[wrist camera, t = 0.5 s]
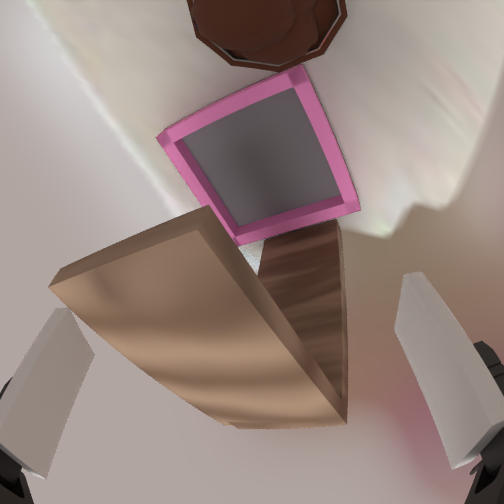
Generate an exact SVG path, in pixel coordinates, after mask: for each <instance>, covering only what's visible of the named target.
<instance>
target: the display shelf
mask: <svg viewBox="0 0 504 504" xmlns="http://www.w3.org/2000/svg"><path fill="white" fill-rule="evenodd" d="M48 288H49V289H50V290H51V291H52V292H53V293H54V294H55V295H56V296H57V297H58V298H59V299H60V300H61V301H62V302H63V303H64V304H65V305H66V306H67V307H68V308H69V309H71V310H72V311H73V312H74V313H75V314H76V315H77V316H78V317H79V318H80V319H81V320H82V321H84V322H85V323H86V324H87V325H88V326H89V327H90V328H91V329H93V330H94V331H95V332H96V333H97V334H98V335H99V336H101V337H102V338H103V339H104V340H105V341H107V342H108V343H109V344H110V345H111V346H112V347H114V348H115V349H116V350H117V351H118V352H120V353H121V354H122V355H123V356H125V357H126V358H127V359H128V360H130V361H131V362H132V363H134V364H135V365H136V366H138V367H139V368H140V369H141V370H143V371H144V372H145V373H147V374H148V375H149V376H151V377H152V378H153V379H155V380H156V381H158V382H159V383H160V384H162V385H163V386H164V387H166V388H167V389H169V390H170V391H172V392H173V393H174V394H176V395H178V396H179V397H181V398H182V399H183V400H185V401H186V402H188V403H189V404H191V405H192V406H194V407H195V408H197V409H198V410H200V411H202V412H203V413H205V414H206V415H208V416H210V417H211V418H213V419H214V420H216V421H218V422H219V423H221V424H223V425H233V426H235V427H236V428H238V429H291V428H311V427H325V426H337V425H345V424H347V408H348V336H347V308H346V289H345V272H344V259H343V246H342V235H341V230H340V227H339V225H338V222H337V220H336V219H335V220H332V221H329V222H325V223H322V224H318V225H315V226H311V227H308V228H304V229H301V230H298V231H294V232H291V233H287V234H284V235H280V236H277V237H274V238H270V239H267V240H265V241H264V246H263V251H262V256H261V261H260V266H259V271H258V276H257V275H256V274H255V272H254V271H253V269H252V268H251V266H250V265H249V263H248V262H247V260H246V259H245V257H244V256H243V254H242V253H241V252H240V250H239V249H238V247H237V246H236V244H235V243H234V241H233V240H232V238H231V237H230V235H229V234H228V232H227V231H226V229H225V228H224V226H223V225H222V223H221V222H220V220H219V219H218V217H217V216H216V214H215V213H214V211H213V210H212V208H211V207H210V205H206V206H204V207H201V208H199V209H196V210H194V211H191V212H189V213H186V214H184V215H181V216H179V217H176V218H174V219H171V220H169V221H167V222H164V223H162V224H159V225H157V226H155V227H152V228H150V229H147V230H145V231H143V232H140V233H138V234H136V235H133V236H131V237H129V238H127V239H125V240H122V241H120V242H117V243H115V244H113V245H111V246H108V247H106V248H104V249H102V250H100V251H97V252H95V253H93V254H91V255H89V256H86V257H84V258H82V259H80V260H78V261H76V262H74V263H71V264H69V265H67V266H65V267H63V268H61V269H60V270H59V272H58V273H57V275H56V276H55V277H54V279H53V280H52V282H51V284H50V285H49V287H48Z"/></svg>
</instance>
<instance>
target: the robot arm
mask: <svg viewBox="0 0 504 504" xmlns="http://www.w3.org/2000/svg"><path fill="white" fill-rule="evenodd" d="M394 331H395V333H396V335H397V337H398V339H399V341H400V343H401V345H402V347H403V350H404V352H405V354H406V356H407V358H408V361H409V363H410V365H411V367H412V369H413V372H414V374H415V376H416V378H417V380H418V383H419V385H420V388H421V390H422V392H423V395H424V397H425V400H426V402H427V404H428V407H429V409H430V412H431V414H432V417H433V419H434V422H435V424H436V427H437V430H438V432H439V435H440V438H441V440H442V443H443V445H444V448H445V451H446V454H447V457H448V460H449V463H450V465H451V468H452V470H453V469H455V468H457V467H460V466H462V465H465V464H467V463H469V462H471V461H473V460H474V459H475V458H476V457H477V456H478V455H479V453H480V454H481V457H482V460H481V461H480V462H479V463H478V464H477V465H476V466H475V467H474V468H473V469H472V471H471V472H470V475H472V474H474V473H475V472H476V471H477V473H476V476H475V479H474V481H473V484H472V486H471V489H470V491H469V494H468V497H467V499H466V501H465V503H464V504H504V366H503V364H501V361H500V359H499V358H498V356H497V355H496V353H495V352H494V350H493V349H492V348H490V347H489V346H488V345H487V344H485V343H484V342H483V341H480V342H477V343H474V344H472V342H471V341H470V339H469V338H468V336H467V335H466V333H465V332H464V330H463V329H462V327H461V326H460V324H459V323H458V321H457V320H456V318H455V317H454V315H453V314H452V312H451V311H450V310H449V308H448V307H447V305H446V304H445V303H444V301H443V300H442V298H441V297H440V296H439V294H438V293H437V291H436V290H435V289H434V287H433V286H432V285H431V283H430V282H429V281H428V279H427V278H426V277H425V275H424V274H423V273H422V272H415V273H409V274H404V277H403V283H402V289H401V295H400V301H399V306H398V312H397V317H396V322H395V327H394ZM94 355H95V354H94V352H93V351H92V349H91V347H90V346H89V344H88V342H87V340H86V339H85V337H84V335H83V333H82V331H81V330H80V328H79V326H78V324H77V322H76V320H75V318H74V317H73V315H72V313H71V311H70V309H69V308H56V309H55V310H54V312H53V313H52V315H51V316H50V318H49V319H48V321H47V322H46V324H45V325H44V327H43V329H42V330H41V331H40V333H39V334H38V336H37V338H36V339H35V341H34V342H33V344H32V346H31V347H30V349H29V350H28V352H27V354H26V355H25V357H24V359H23V361H22V362H21V364H20V366H19V367H18V369H17V370H16V372H15V374H14V376H13V377H12V378H11V379H10V380H9V381H8V382H7V383H6V384H5V385H4V387H3V389H2V391H1V393H0V504H34V502H33V499H32V497H31V493H30V490H29V487H28V484H27V481H26V478H25V475H24V474H23V473H22V472H21V469H22V467H23V468H24V469H26V470H27V471H28V472H30V473H31V474H32V475H35V476H38V477H41V478H43V479H46V478H47V475H48V472H49V469H50V466H51V463H52V460H53V457H54V454H55V452H56V449H57V446H58V443H59V440H60V438H61V435H62V432H63V430H64V427H65V424H66V422H67V419H68V417H69V414H70V411H71V409H72V406H73V404H74V401H75V399H76V397H77V394H78V392H79V389H80V387H81V385H82V382H83V380H84V378H85V375H86V373H87V371H88V369H89V366H90V364H91V362H92V360H93V358H94Z"/></svg>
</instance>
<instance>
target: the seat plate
mask: <svg viewBox="0 0 504 504" xmlns="http://www.w3.org/2000/svg"><path fill="white" fill-rule="evenodd" d="M156 139H157V140H158V142H159V143H160V145H161V146H162V148H163V149H164V151H165V152H166V154H167V155H168V157H169V158H170V160H171V161H172V163H173V164H174V166H175V167H176V168H177V170H178V171H179V173H180V174H181V176H182V177H183V179H184V180H185V182H186V183H187V185H188V186H189V188H190V189H191V191H192V192H193V194H194V195H195V197H196V198H197V199H198V201H199V202H200V204H201V205H202V207H204V206H206V205H210V207H211V208H212V210H213V211H214V213H215V214H216V216H217V217H218V219H219V220H220V222H221V223H222V225H223V226H224V228H225V229H226V231H227V232H228V234H229V235H230V237H231V238H232V240H233V241H234V243H235V244H236V246H237V247H238V246H241V245H244V244H248V243H251V242H254V241H258V240H261V239H265V238H268V237H271V236H275V235H278V234H282V233H285V232H288V231H292V230H295V229H299V228H302V227H305V226H309V225H312V224H316V223H319V222H323V221H326V220H329V219H333V218H336V217H340V216H343V215H347V214H350V213H354V212H357V211H361V208H360V203H359V199H358V196H357V193H356V190H355V187H354V184H353V182H352V179H351V176H350V174H349V171H348V168H347V166H346V163H345V160H344V158H343V155H342V153H341V150H340V148H339V145H338V143H337V140H336V138H335V135H334V133H333V131H332V128H331V126H330V123H329V121H328V119H327V116H326V114H325V112H324V110H323V107H322V105H321V103H320V101H319V99H318V96H317V94H316V92H315V90H314V88H313V86H312V83H311V81H310V79H309V77H308V75H307V73H306V71H305V69H304V67H303V65H302V64H300V65H297V66H295V67H292V68H290V69H287V70H285V71H282V72H280V73H277V74H275V75H273V76H270V77H268V78H265V79H263V80H261V81H259V82H256V83H254V84H252V85H250V86H247V87H245V88H243V89H241V90H239V91H237V92H234V93H232V94H230V95H228V96H226V97H224V98H222V99H220V100H218V101H216V102H214V103H212V104H210V105H208V106H206V107H204V108H202V109H200V110H199V111H197V112H195V113H193V114H191V115H189V116H187V117H186V118H184V119H182V120H180V121H178V122H177V123H175V124H173V125H171V126H169V127H168V128H166V129H164V130H163V131H162V132H161V133H160V134H159V135H158V136H157V137H156Z"/></svg>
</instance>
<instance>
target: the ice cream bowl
mask: <svg viewBox="0 0 504 504" xmlns="http://www.w3.org/2000/svg"><path fill="white" fill-rule="evenodd" d="M187 3H188V7H189V11H190V15H191V19H192V23H193V27H194V31H195V35H196V37H197V38H198V39H199V40H200V41H202V42H203V43H204V44H206V45H207V46H208V47H209V48H211V49H212V50H213V51H214V52H216V53H217V54H218V55H219V56H220V57H222V58H223V59H224V60H225V61H226V62H228V63H229V64H230V65H231V66H240V67H248V68H255V69H262V70H269V71H275V72H281V71H283V70H286V69H288V68H290V67H293V66H295V65H298V64H300V63H302V62H305V61H307V60H310V59H312V58H315V57H318V56H320V55H323V54H324V53H325V51H326V50H327V48H328V47H329V45H330V43H331V42H332V40H333V38H334V37H335V35H336V34H337V32H338V30H339V29H340V27H341V26H342V24H343V23H344V21H345V19H346V18H347V10H346V4H345V0H187Z"/></svg>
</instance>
